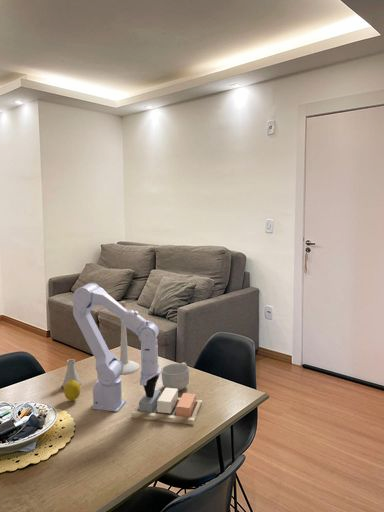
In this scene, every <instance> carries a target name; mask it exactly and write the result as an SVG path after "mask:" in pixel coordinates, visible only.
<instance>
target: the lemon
mask: <svg viewBox="0 0 384 512" xmlns="http://www.w3.org/2000/svg"><path fill="white" fill-rule="evenodd" d="M80 395H81V385H80V386H79V383H78V382H77V381H74V380H71V381H69V382H68V383H67V384H66V385H65V388H64V396H65V398H66V400H69V401H71V402H74V401H75V400H77V399H78V398H79V396H80Z"/></svg>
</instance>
